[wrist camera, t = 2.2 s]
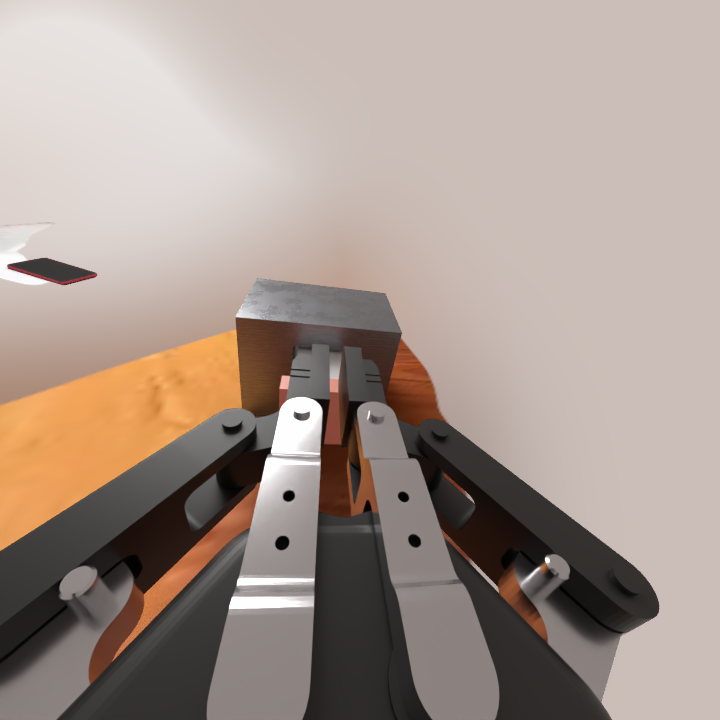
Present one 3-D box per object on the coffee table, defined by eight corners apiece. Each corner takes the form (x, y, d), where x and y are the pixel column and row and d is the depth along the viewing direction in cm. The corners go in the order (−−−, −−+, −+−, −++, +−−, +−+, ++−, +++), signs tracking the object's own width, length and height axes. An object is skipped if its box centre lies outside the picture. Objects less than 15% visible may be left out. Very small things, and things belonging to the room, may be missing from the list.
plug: (278, 442, 31) (279, 388, 27) (291, 363, 43) (293, 318, 39) (346, 444, 32) (356, 393, 28) (341, 367, 44) (347, 323, 40)
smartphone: (62, 282, 61) (4, 264, 63) (63, 287, 61) (6, 269, 63) (98, 273, 67) (45, 257, 69) (100, 277, 67) (46, 261, 70)
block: (242, 415, 39) (235, 316, 32) (259, 362, 49) (257, 278, 42) (378, 421, 42) (401, 332, 35) (368, 370, 52) (385, 293, 45)
